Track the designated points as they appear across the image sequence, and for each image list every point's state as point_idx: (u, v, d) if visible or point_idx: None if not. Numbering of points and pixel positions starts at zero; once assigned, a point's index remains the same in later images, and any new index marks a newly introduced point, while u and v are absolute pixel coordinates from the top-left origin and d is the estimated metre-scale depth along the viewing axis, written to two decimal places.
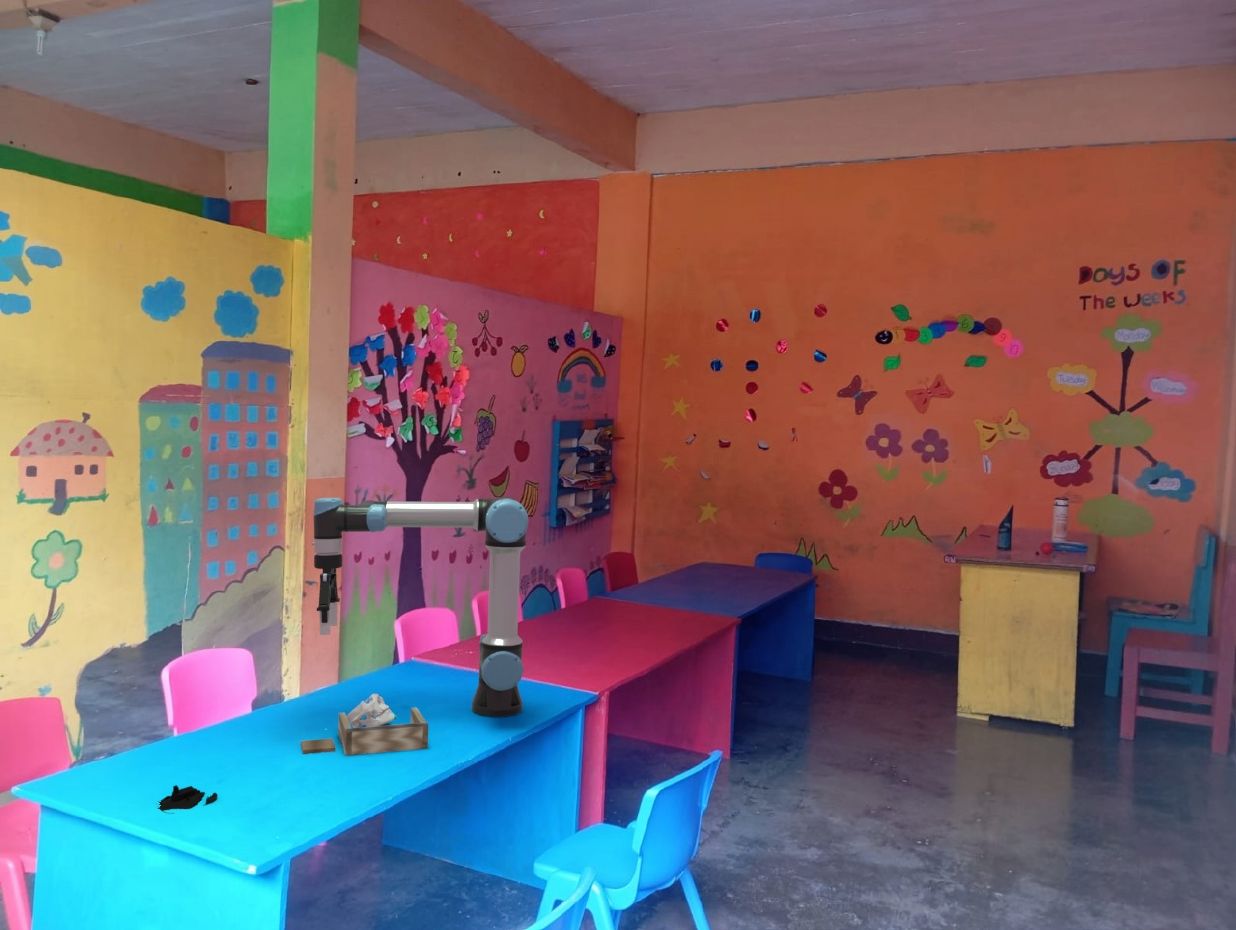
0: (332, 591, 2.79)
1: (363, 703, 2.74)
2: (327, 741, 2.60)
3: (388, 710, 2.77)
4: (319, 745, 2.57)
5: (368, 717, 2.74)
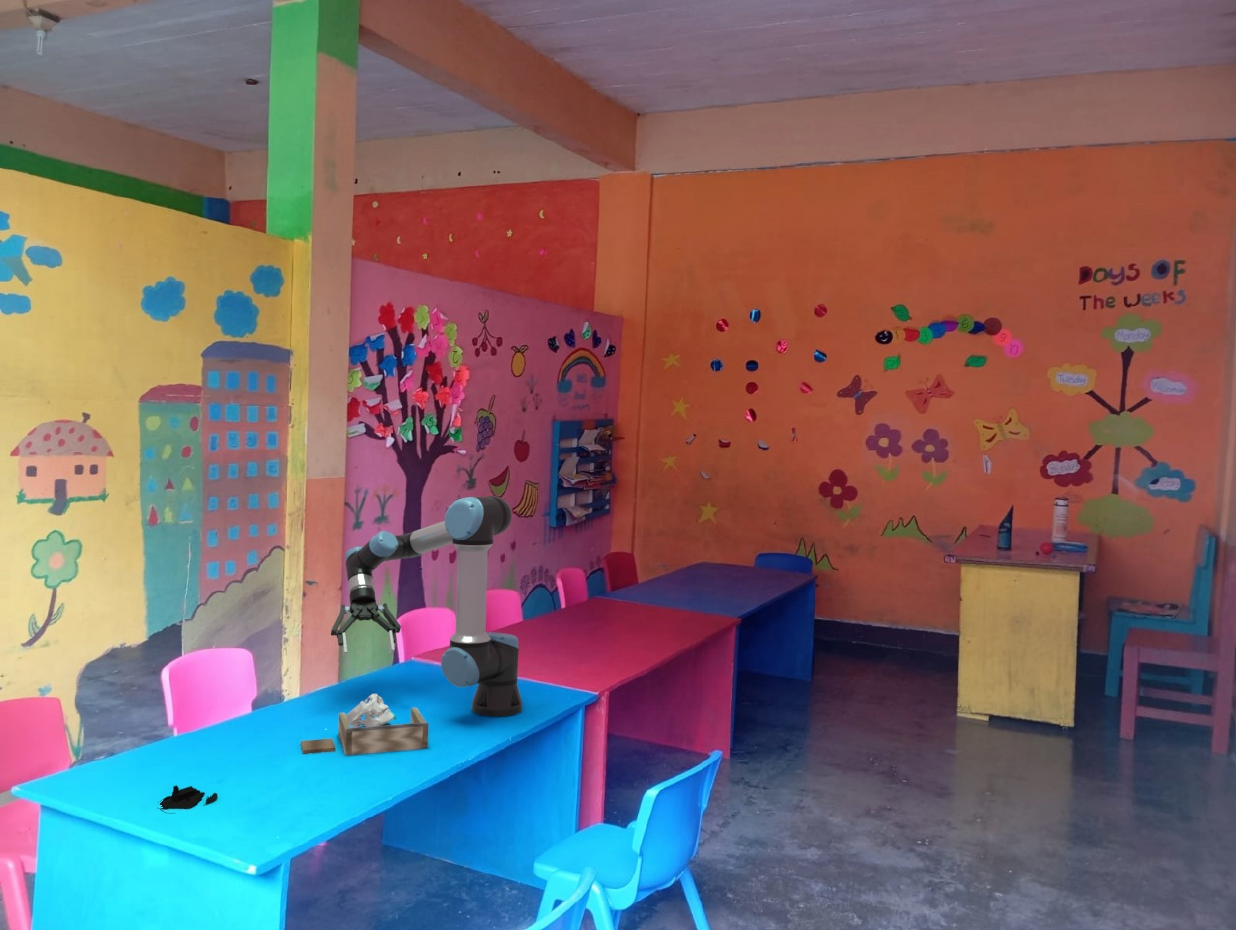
0: (381, 622, 2.97)
1: (362, 703, 2.74)
2: (327, 741, 2.60)
3: (387, 710, 2.77)
4: (319, 745, 2.57)
5: (367, 716, 2.74)
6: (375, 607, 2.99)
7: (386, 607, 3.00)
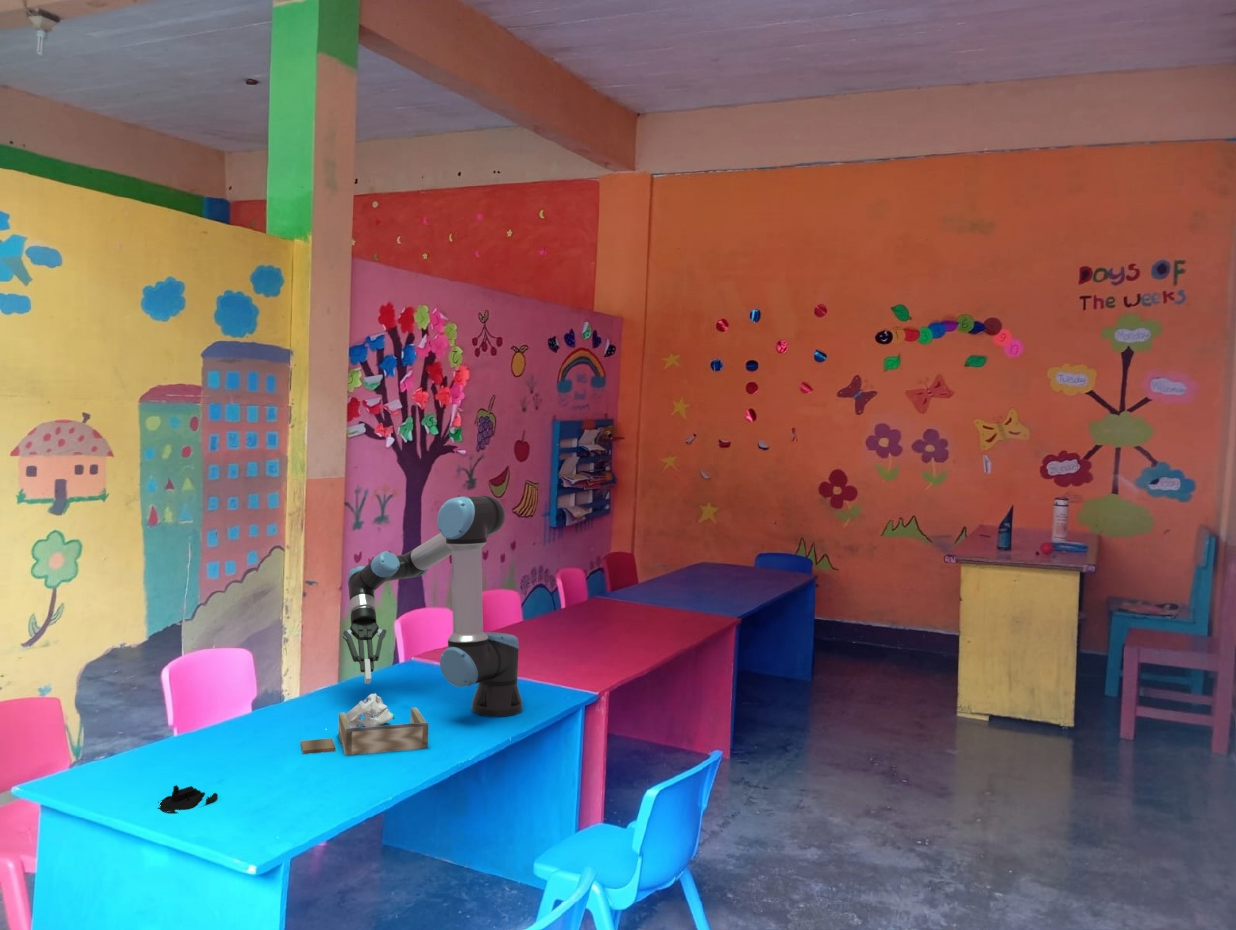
0: (368, 646, 2.96)
1: (361, 703, 2.74)
2: (327, 741, 2.60)
3: (386, 710, 2.77)
4: (319, 745, 2.57)
5: (366, 716, 2.74)
6: (374, 627, 3.00)
7: (383, 633, 2.99)
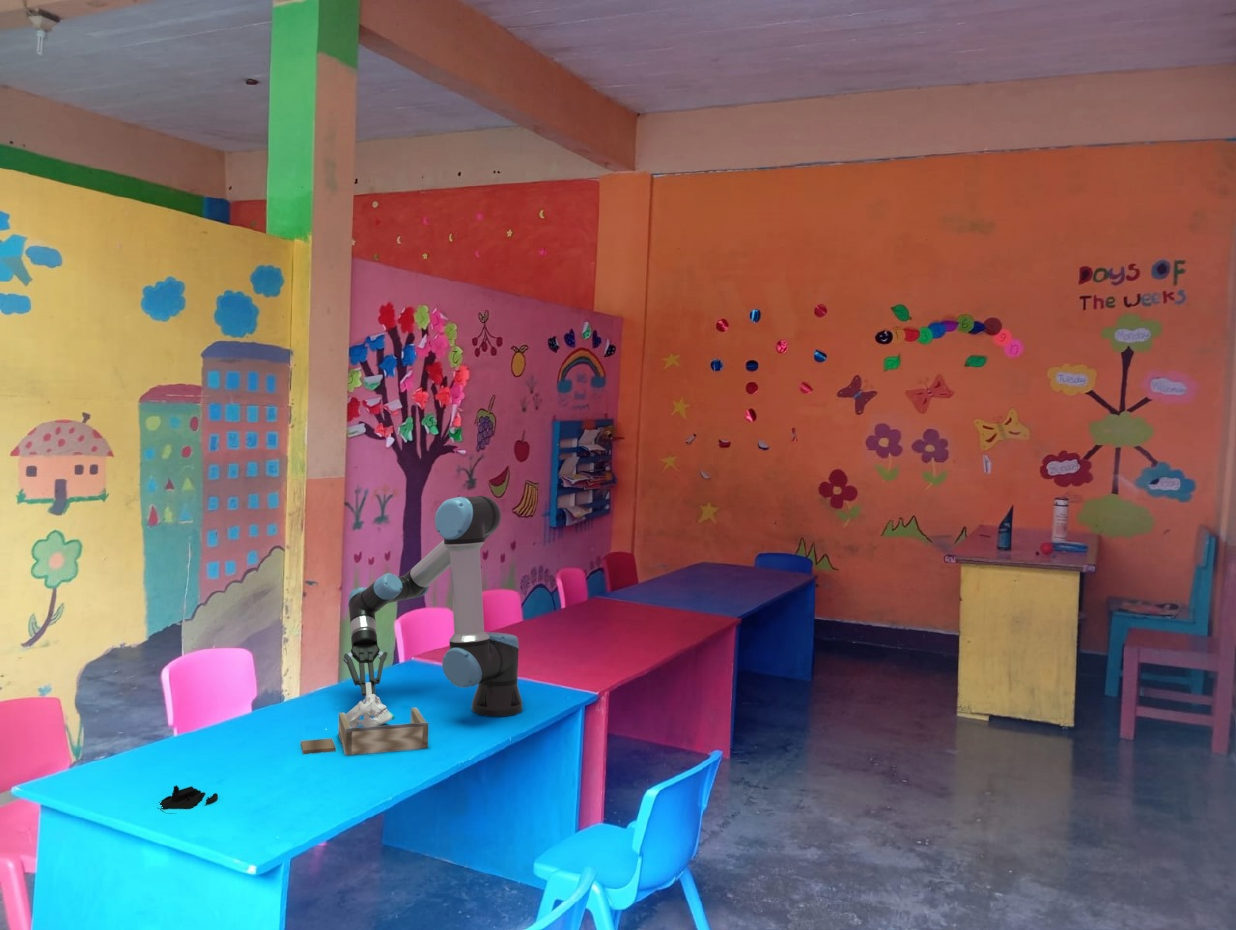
0: (369, 669, 2.92)
1: (361, 703, 2.73)
2: (327, 741, 2.60)
3: (386, 710, 2.77)
4: (319, 745, 2.57)
5: (365, 717, 2.74)
6: (375, 650, 2.96)
7: (384, 656, 2.95)
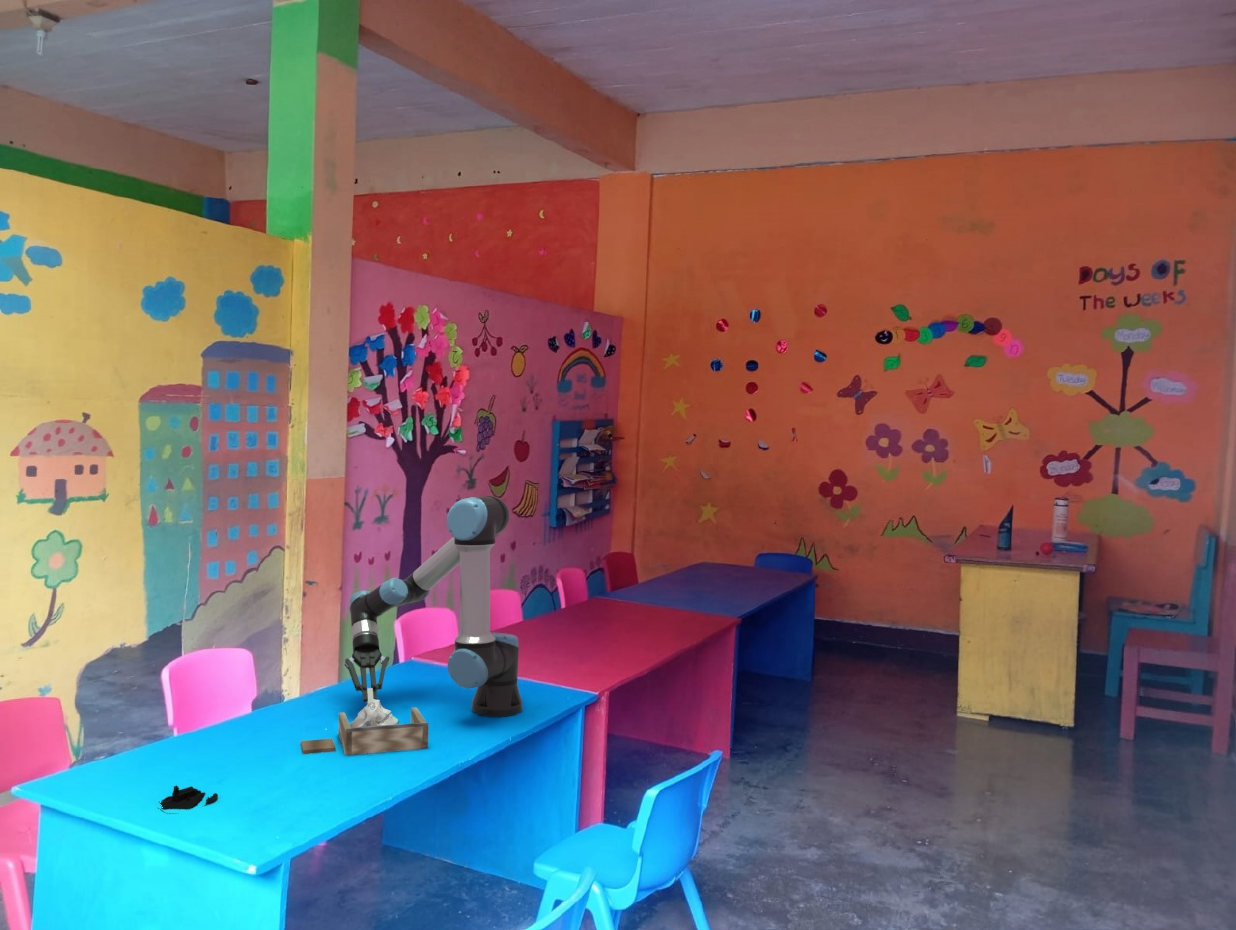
0: (370, 674, 2.86)
1: (368, 709, 2.68)
2: (327, 741, 2.60)
3: (391, 714, 2.72)
4: (319, 745, 2.57)
5: (372, 723, 2.68)
6: (377, 655, 2.90)
7: (386, 661, 2.90)
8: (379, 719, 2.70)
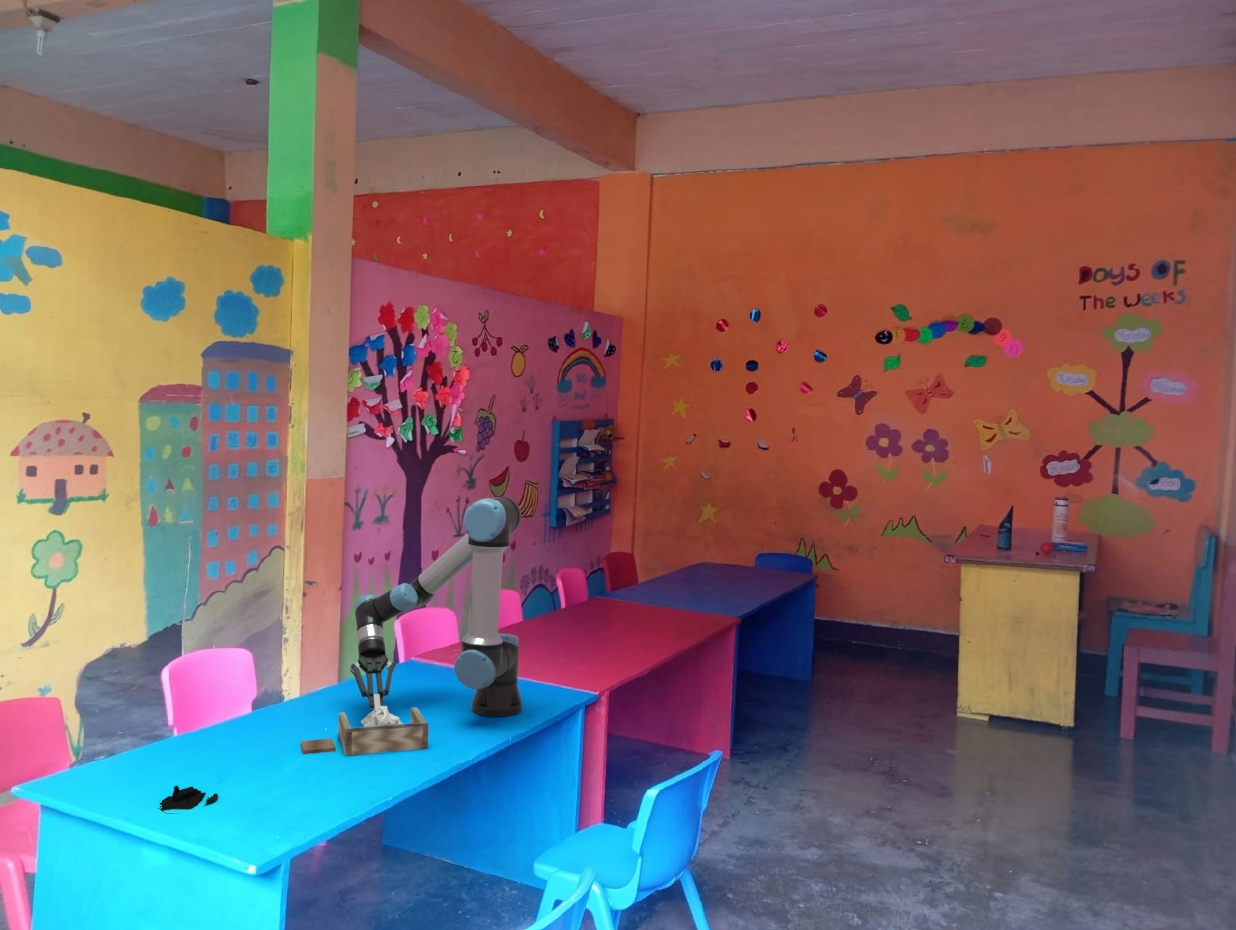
0: (377, 680, 2.80)
1: (378, 716, 2.62)
2: (327, 741, 2.60)
3: (399, 721, 2.67)
4: (319, 745, 2.57)
5: None
6: (383, 660, 2.84)
7: (393, 666, 2.83)
8: None
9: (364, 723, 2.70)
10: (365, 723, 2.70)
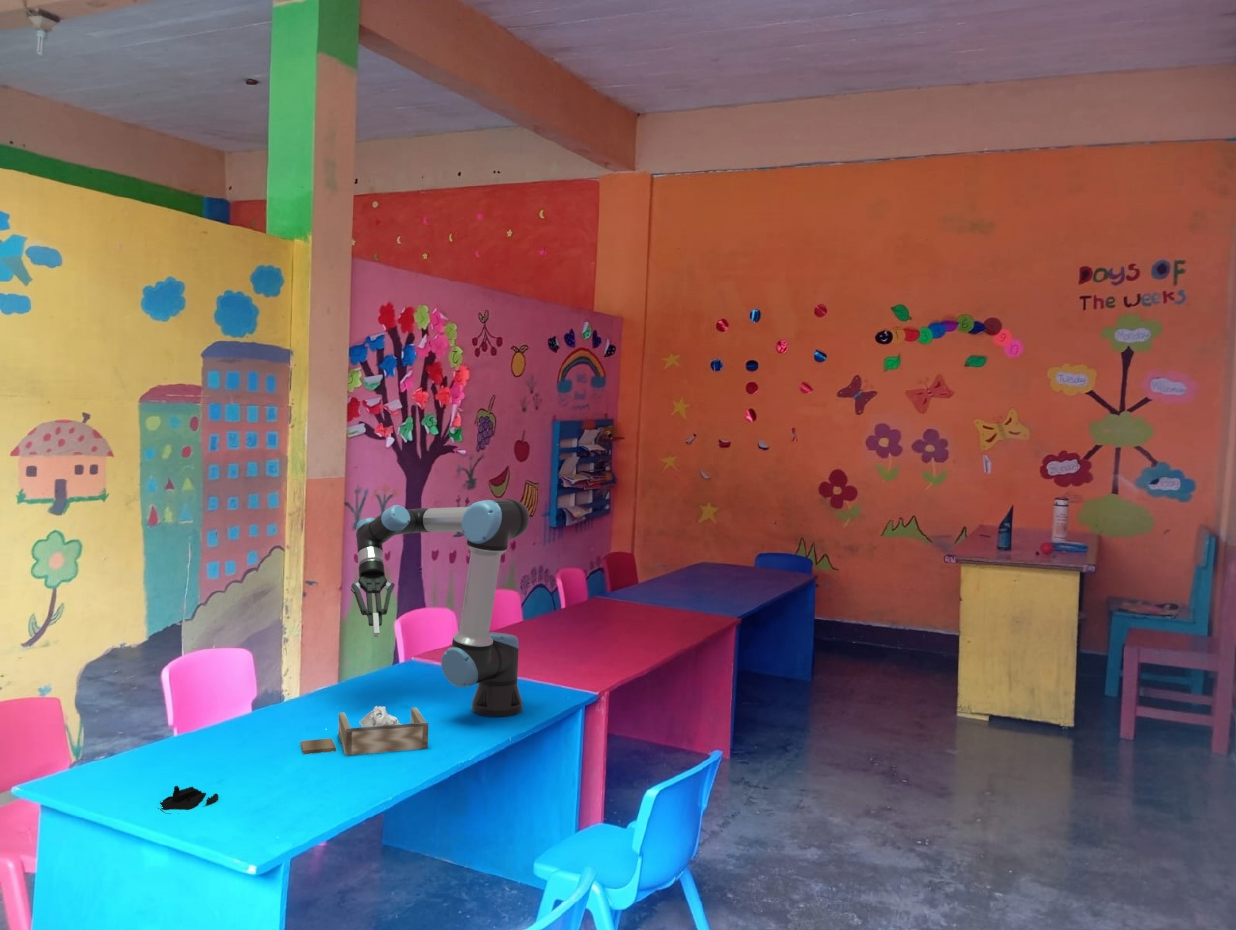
0: (376, 599, 2.94)
1: (376, 717, 2.62)
2: (327, 741, 2.60)
3: (397, 721, 2.67)
4: (319, 745, 2.57)
5: None
6: (383, 581, 2.97)
7: (391, 587, 2.97)
8: None
9: (362, 724, 2.70)
10: (363, 724, 2.70)
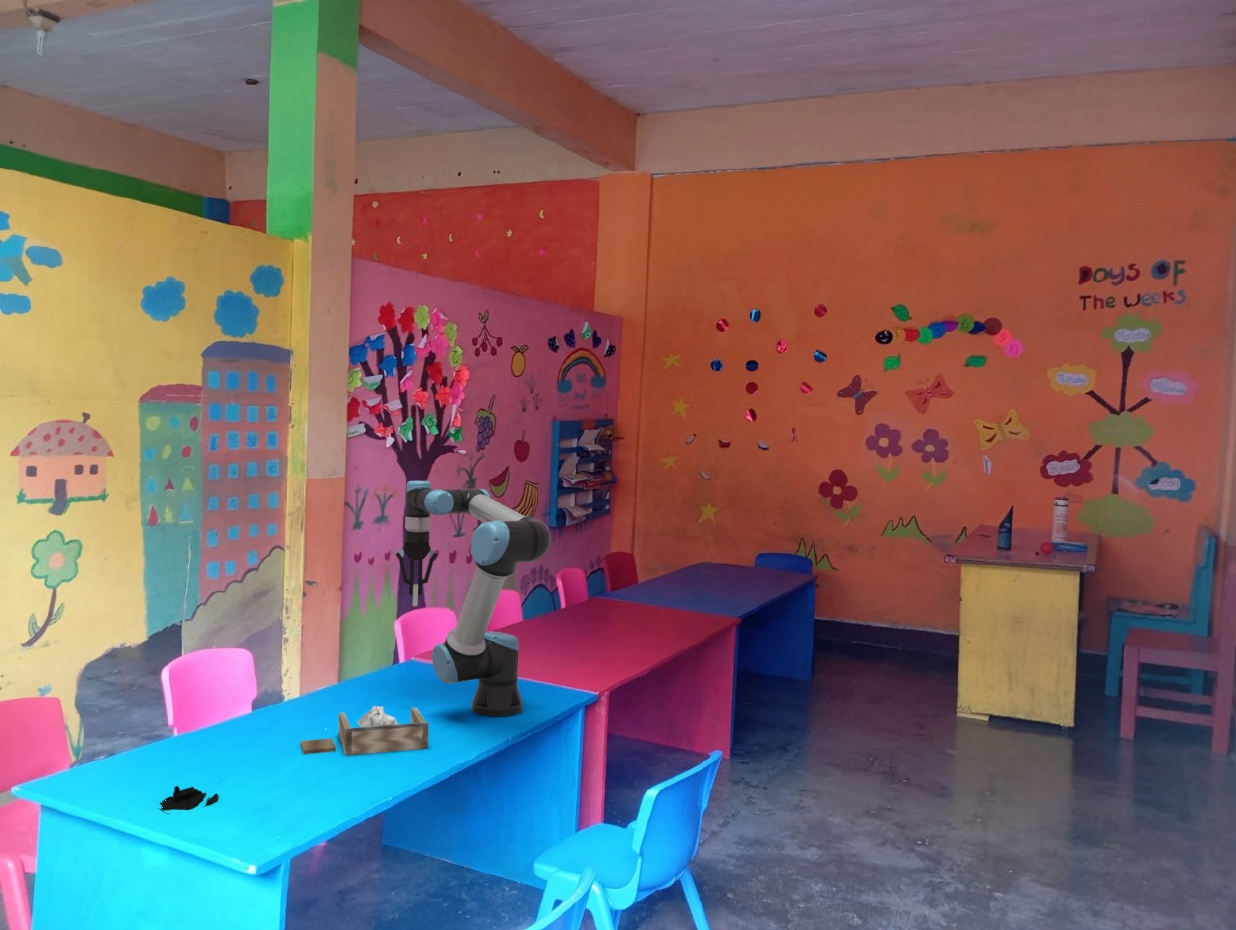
0: (418, 569, 3.09)
1: (374, 717, 2.62)
2: (327, 741, 2.60)
3: (395, 721, 2.67)
4: (319, 745, 2.57)
5: None
6: (426, 550, 3.09)
7: (433, 557, 3.09)
8: None
9: (360, 723, 2.70)
10: (361, 723, 2.70)
